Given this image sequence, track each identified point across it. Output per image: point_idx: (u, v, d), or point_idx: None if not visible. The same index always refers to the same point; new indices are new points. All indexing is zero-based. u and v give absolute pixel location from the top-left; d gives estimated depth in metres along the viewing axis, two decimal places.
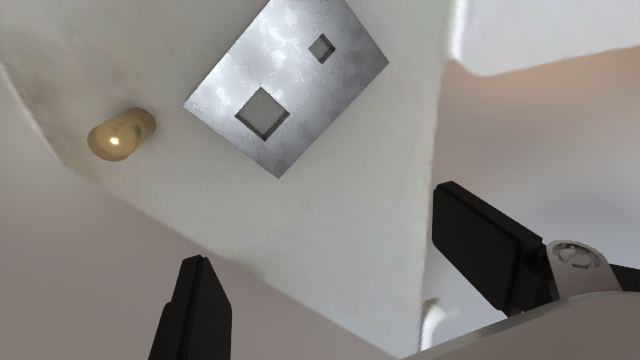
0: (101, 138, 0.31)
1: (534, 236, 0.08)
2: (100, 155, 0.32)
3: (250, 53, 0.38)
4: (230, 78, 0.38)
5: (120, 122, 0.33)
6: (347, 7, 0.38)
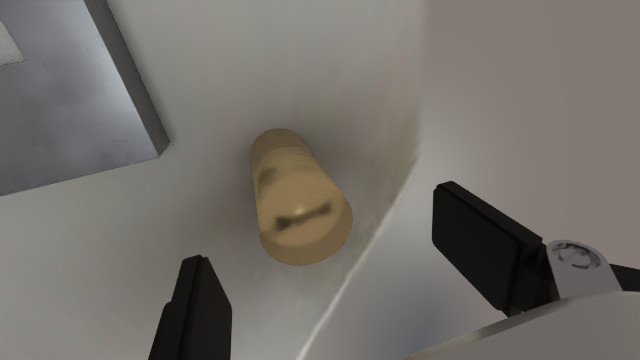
0: (311, 244, 0.13)
1: (534, 236, 0.08)
2: (347, 216, 0.13)
3: None
4: None
5: None
6: None
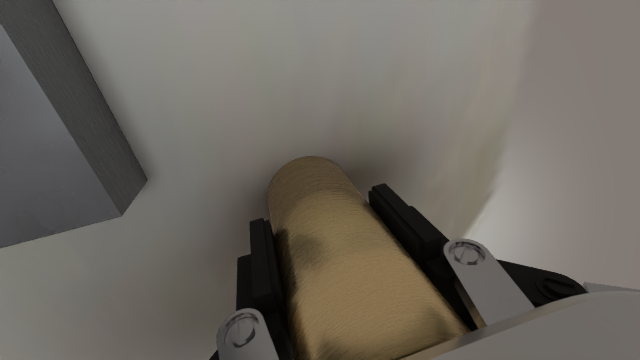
0: None
1: (435, 235, 0.08)
2: None
3: None
4: None
5: None
6: None
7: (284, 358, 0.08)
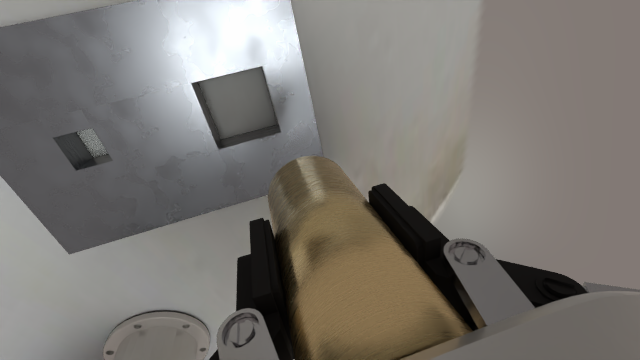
0: None
1: (435, 235, 0.08)
2: None
3: (208, 191, 0.27)
4: (253, 177, 0.27)
5: None
6: (12, 184, 0.22)
7: (284, 358, 0.08)
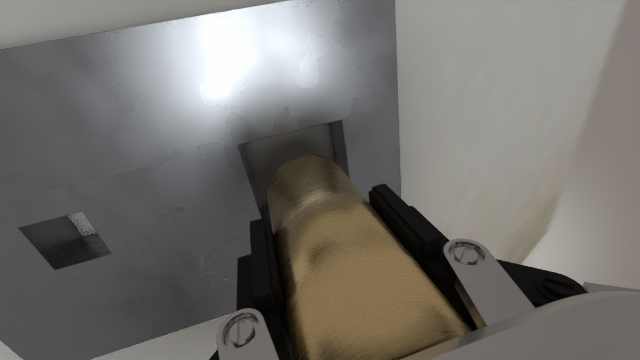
0: None
1: (435, 235, 0.08)
2: None
3: None
4: None
5: None
6: None
7: (284, 358, 0.08)
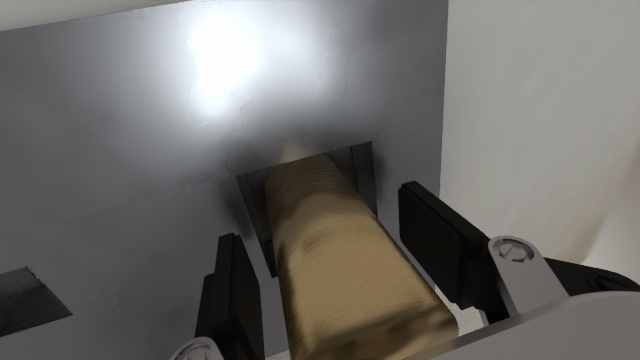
0: None
1: (478, 232, 0.08)
2: (449, 339, 0.07)
3: None
4: None
5: None
6: None
7: None
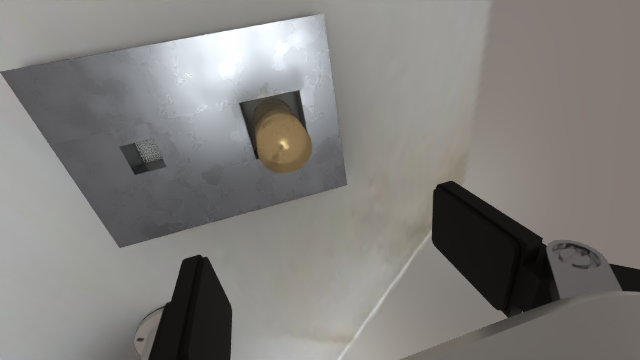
0: (287, 159, 0.22)
1: (535, 236, 0.08)
2: (308, 143, 0.22)
3: (244, 195, 0.30)
4: (283, 184, 0.31)
5: None
6: (80, 185, 0.26)
7: None
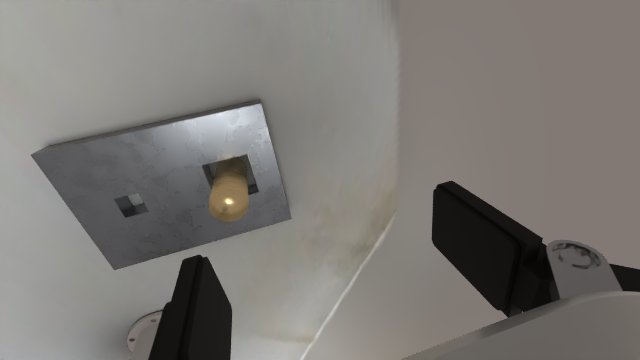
0: (231, 212, 0.32)
1: (534, 236, 0.08)
2: (245, 201, 0.32)
3: (209, 229, 0.40)
4: (240, 220, 0.40)
5: None
6: (85, 226, 0.35)
7: None
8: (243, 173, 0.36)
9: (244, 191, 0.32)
